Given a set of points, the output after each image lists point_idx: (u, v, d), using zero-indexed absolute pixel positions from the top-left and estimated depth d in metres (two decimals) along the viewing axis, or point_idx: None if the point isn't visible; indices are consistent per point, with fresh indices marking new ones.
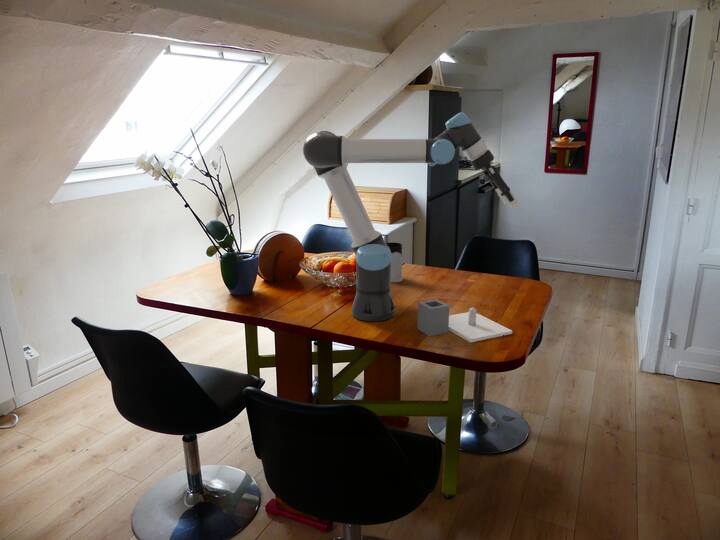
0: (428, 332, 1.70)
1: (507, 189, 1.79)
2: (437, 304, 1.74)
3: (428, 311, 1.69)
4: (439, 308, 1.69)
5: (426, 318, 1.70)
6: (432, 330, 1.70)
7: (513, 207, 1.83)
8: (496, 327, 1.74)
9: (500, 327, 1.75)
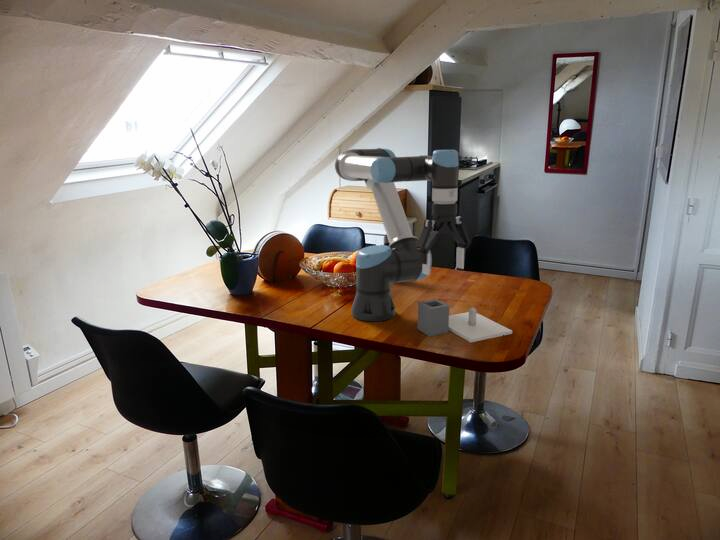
0: (428, 332, 1.70)
1: (419, 249, 1.62)
2: (437, 304, 1.74)
3: (428, 311, 1.69)
4: (439, 308, 1.69)
5: (426, 318, 1.70)
6: (432, 330, 1.70)
7: (423, 270, 1.66)
8: (496, 327, 1.74)
9: (500, 327, 1.75)
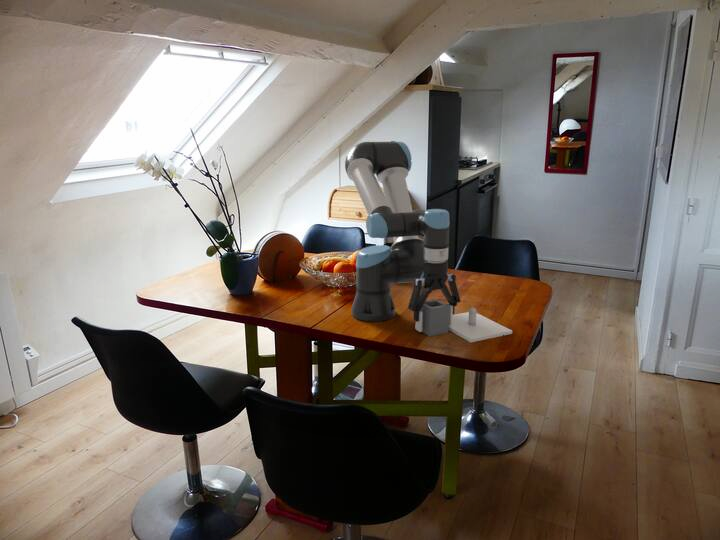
0: (428, 332, 1.70)
1: (411, 308, 1.68)
2: (437, 304, 1.74)
3: (428, 311, 1.69)
4: (439, 308, 1.69)
5: (426, 318, 1.70)
6: (432, 330, 1.70)
7: (416, 326, 1.72)
8: (496, 327, 1.74)
9: (500, 327, 1.75)
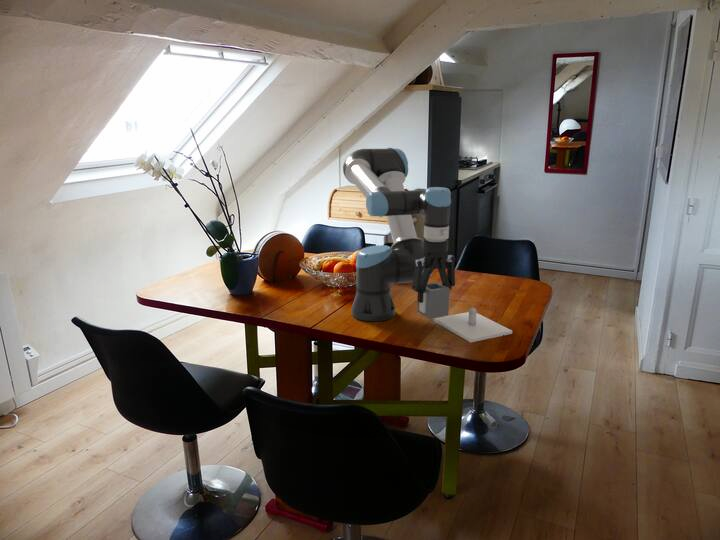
0: (428, 314, 1.69)
1: (415, 290, 1.68)
2: (437, 286, 1.73)
3: (428, 293, 1.68)
4: (439, 290, 1.68)
5: (426, 300, 1.69)
6: (432, 312, 1.69)
7: (420, 307, 1.72)
8: (496, 327, 1.74)
9: (500, 327, 1.75)
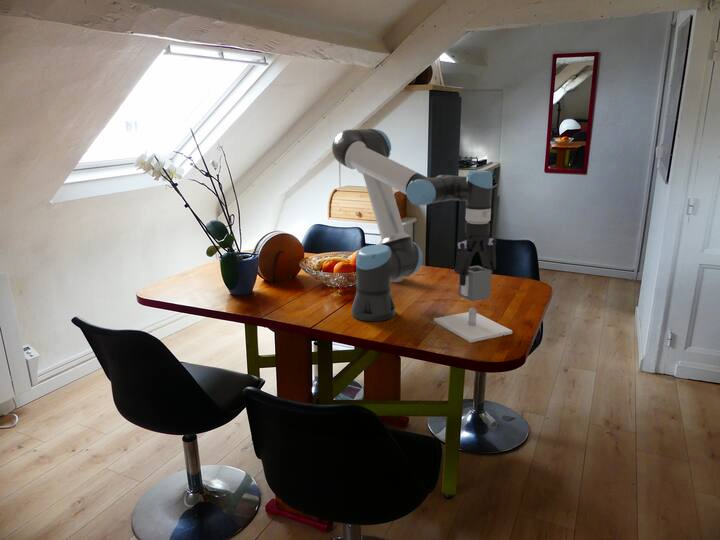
0: (471, 297, 1.70)
1: (457, 272, 1.69)
2: (478, 270, 1.74)
3: (471, 276, 1.69)
4: (482, 273, 1.69)
5: (469, 283, 1.70)
6: (475, 295, 1.70)
7: (462, 291, 1.73)
8: (496, 327, 1.74)
9: (500, 327, 1.75)
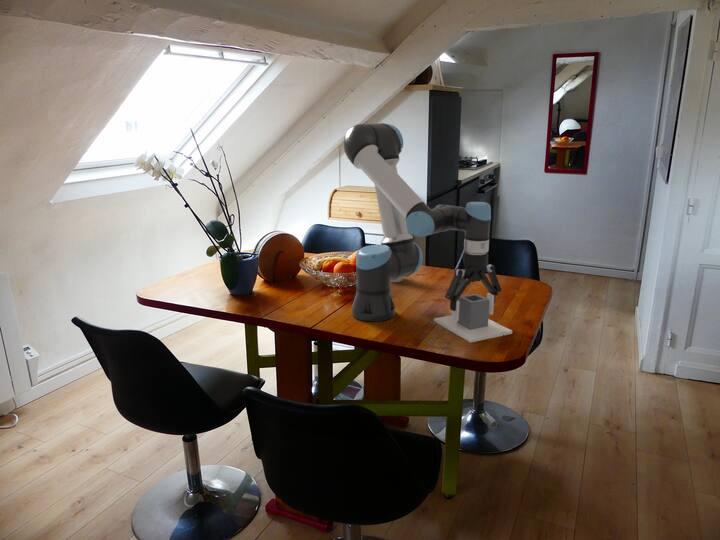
0: (469, 326, 1.73)
1: (448, 297, 1.70)
2: (477, 298, 1.77)
3: (469, 305, 1.71)
4: (480, 302, 1.72)
5: (467, 312, 1.73)
6: (473, 324, 1.73)
7: (452, 315, 1.74)
8: (496, 327, 1.74)
9: (500, 327, 1.75)
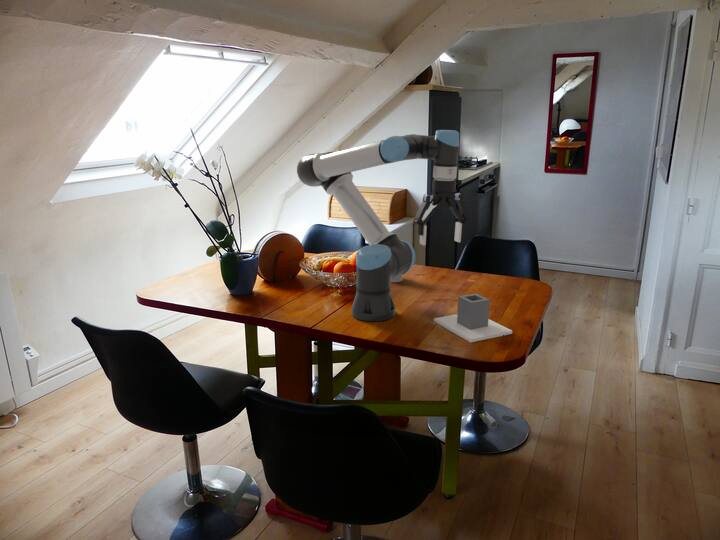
0: (469, 326, 1.73)
1: (416, 221, 1.77)
2: (477, 298, 1.77)
3: (469, 305, 1.71)
4: (480, 302, 1.72)
5: (467, 312, 1.73)
6: (473, 324, 1.73)
7: (420, 240, 1.81)
8: (496, 327, 1.74)
9: (500, 327, 1.75)
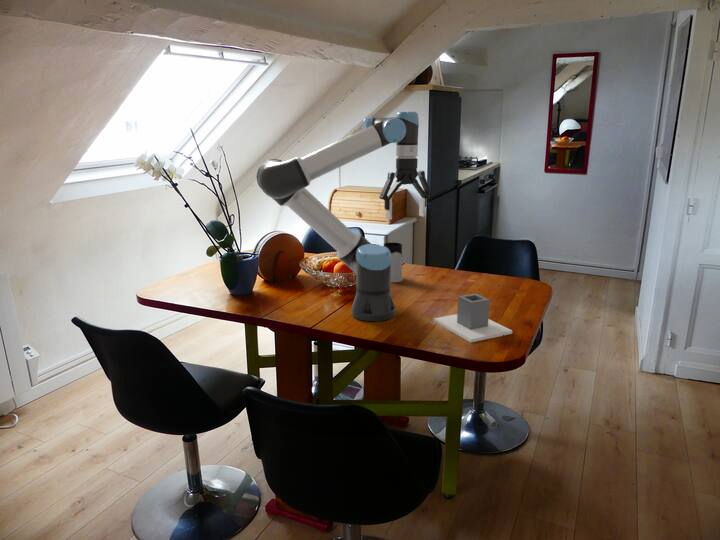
0: (469, 326, 1.73)
1: (381, 197, 1.91)
2: (477, 298, 1.77)
3: (469, 305, 1.71)
4: (480, 302, 1.72)
5: (467, 312, 1.73)
6: (473, 324, 1.73)
7: (387, 215, 1.95)
8: (496, 327, 1.74)
9: (500, 327, 1.75)
